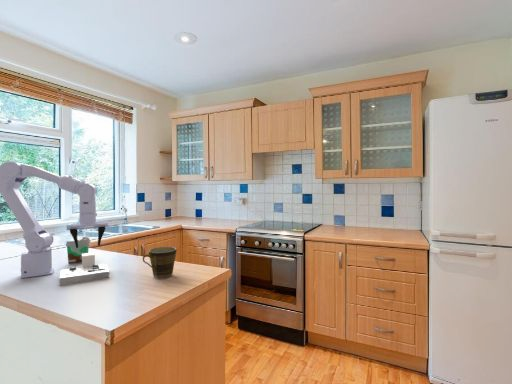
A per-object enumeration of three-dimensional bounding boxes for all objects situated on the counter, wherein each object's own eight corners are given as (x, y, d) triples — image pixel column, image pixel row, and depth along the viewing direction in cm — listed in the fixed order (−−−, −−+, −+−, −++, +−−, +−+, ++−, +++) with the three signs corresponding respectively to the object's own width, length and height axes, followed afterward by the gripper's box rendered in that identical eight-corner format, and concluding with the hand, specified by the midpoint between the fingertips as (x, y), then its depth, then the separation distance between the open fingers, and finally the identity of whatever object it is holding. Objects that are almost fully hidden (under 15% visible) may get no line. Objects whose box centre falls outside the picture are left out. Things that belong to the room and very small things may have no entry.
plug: (82, 272, 113) (82, 256, 113) (82, 268, 118) (81, 253, 118) (95, 270, 115) (94, 254, 115) (94, 267, 120) (94, 252, 120)
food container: (80, 264, 124) (79, 241, 124) (66, 264, 125) (65, 241, 124) (96, 257, 137) (96, 236, 137) (83, 257, 137) (83, 236, 137)
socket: (59, 285, 97) (59, 276, 97) (61, 276, 107) (61, 268, 107) (109, 278, 105) (108, 269, 105) (106, 270, 115) (106, 262, 115)
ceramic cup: (167, 270, 114) (166, 245, 114) (182, 275, 108) (182, 249, 108) (136, 278, 104) (135, 251, 104) (150, 284, 98) (150, 255, 98)
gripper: (66, 214, 109) (66, 250, 109) (108, 212, 117) (109, 246, 117) (66, 213, 115) (67, 247, 115) (107, 211, 123) (107, 243, 123)
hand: (88, 246), depth 116 cm, fingers open, 7 cm apart
